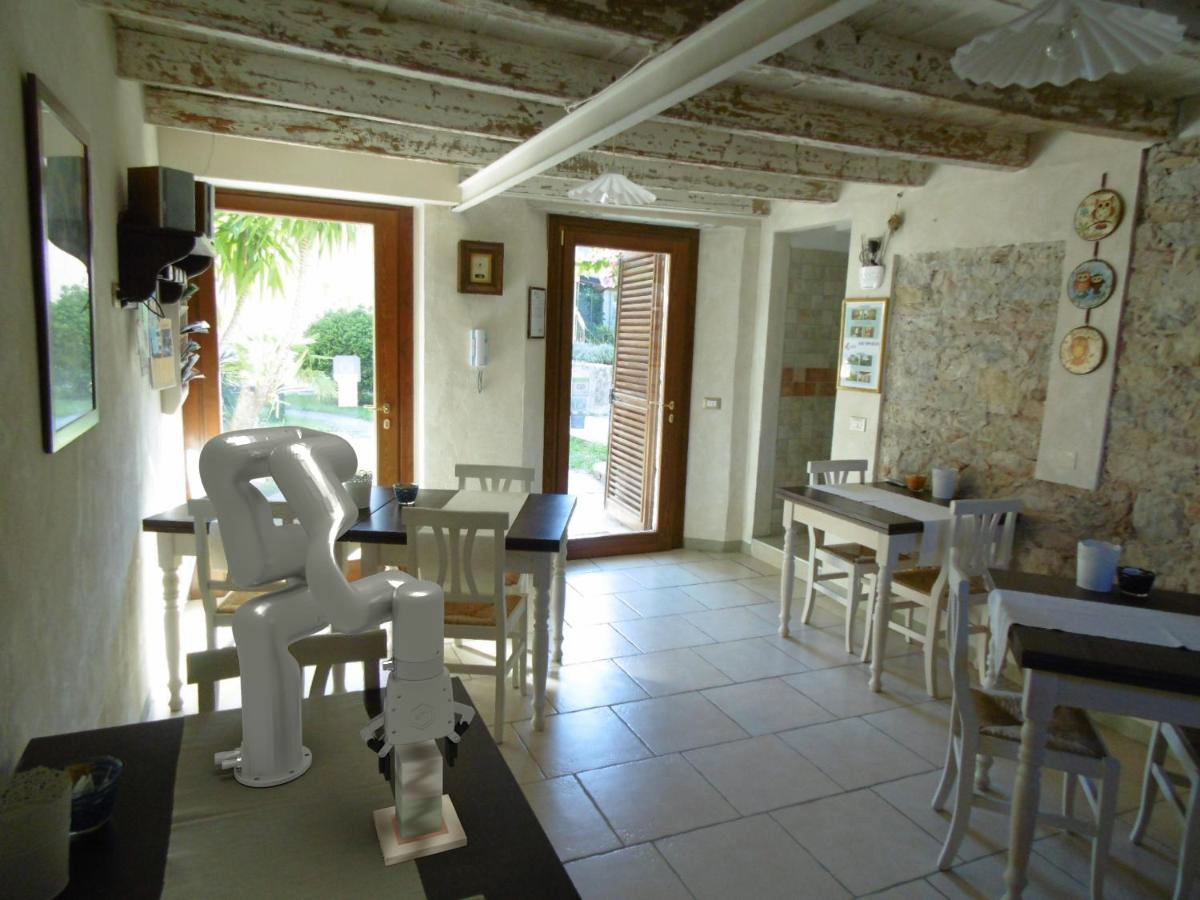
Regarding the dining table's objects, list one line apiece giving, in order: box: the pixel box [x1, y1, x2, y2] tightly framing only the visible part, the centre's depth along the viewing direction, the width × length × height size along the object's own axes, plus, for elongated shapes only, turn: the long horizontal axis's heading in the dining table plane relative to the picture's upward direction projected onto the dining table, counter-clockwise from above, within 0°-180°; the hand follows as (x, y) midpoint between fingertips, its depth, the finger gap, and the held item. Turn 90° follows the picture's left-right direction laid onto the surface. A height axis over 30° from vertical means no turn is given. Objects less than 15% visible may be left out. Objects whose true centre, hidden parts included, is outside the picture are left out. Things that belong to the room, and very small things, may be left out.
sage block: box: [394, 782, 443, 840], centre depth 116 cm, size 6×6×6 cm
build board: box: [372, 793, 468, 867], centre depth 116 cm, size 12×12×1 cm
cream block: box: [394, 739, 444, 803], centre depth 115 cm, size 6×6×6 cm
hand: (418, 769), depth 115 cm, fingers open, 9 cm apart
